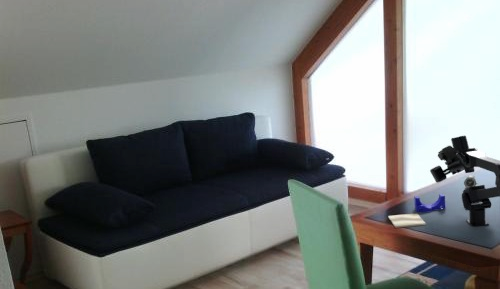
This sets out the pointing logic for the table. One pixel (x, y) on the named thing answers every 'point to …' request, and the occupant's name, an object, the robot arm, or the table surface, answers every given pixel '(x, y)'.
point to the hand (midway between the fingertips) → (444, 170)
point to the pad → (406, 220)
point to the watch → (470, 181)
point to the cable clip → (426, 208)
